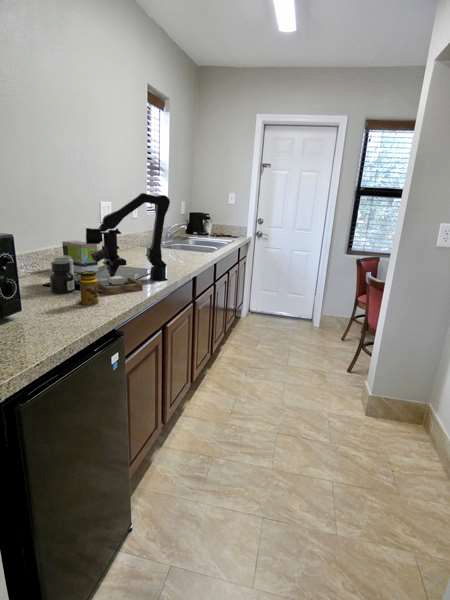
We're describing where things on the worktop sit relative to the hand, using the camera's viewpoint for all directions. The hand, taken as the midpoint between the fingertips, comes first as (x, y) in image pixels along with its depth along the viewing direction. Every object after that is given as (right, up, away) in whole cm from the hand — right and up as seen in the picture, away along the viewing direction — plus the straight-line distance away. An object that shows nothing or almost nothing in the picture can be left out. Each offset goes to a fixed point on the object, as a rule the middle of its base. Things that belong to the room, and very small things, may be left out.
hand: (112, 277), depth 161 cm
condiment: (+1, -12, -32) cm, 35 cm away
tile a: (+3, -3, -2) cm, 5 cm away
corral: (+6, -6, -12) cm, 14 cm away
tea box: (-22, +5, +19) cm, 29 cm away
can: (-19, -3, -6) cm, 20 cm away
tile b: (-3, -4, -7) cm, 8 cm away
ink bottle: (-14, -7, -19) cm, 24 cm away
